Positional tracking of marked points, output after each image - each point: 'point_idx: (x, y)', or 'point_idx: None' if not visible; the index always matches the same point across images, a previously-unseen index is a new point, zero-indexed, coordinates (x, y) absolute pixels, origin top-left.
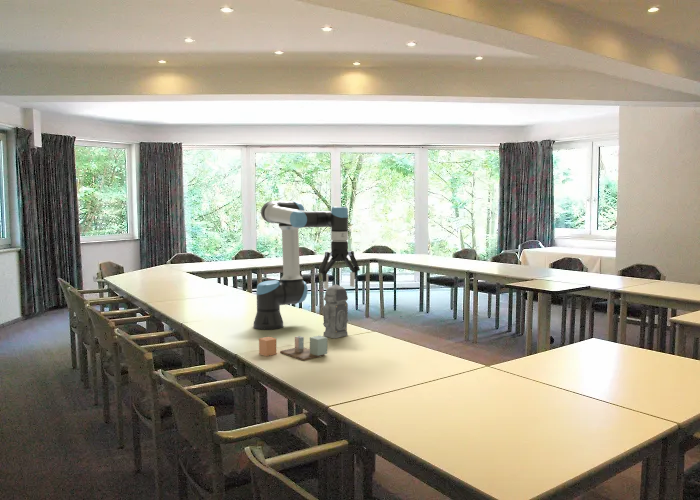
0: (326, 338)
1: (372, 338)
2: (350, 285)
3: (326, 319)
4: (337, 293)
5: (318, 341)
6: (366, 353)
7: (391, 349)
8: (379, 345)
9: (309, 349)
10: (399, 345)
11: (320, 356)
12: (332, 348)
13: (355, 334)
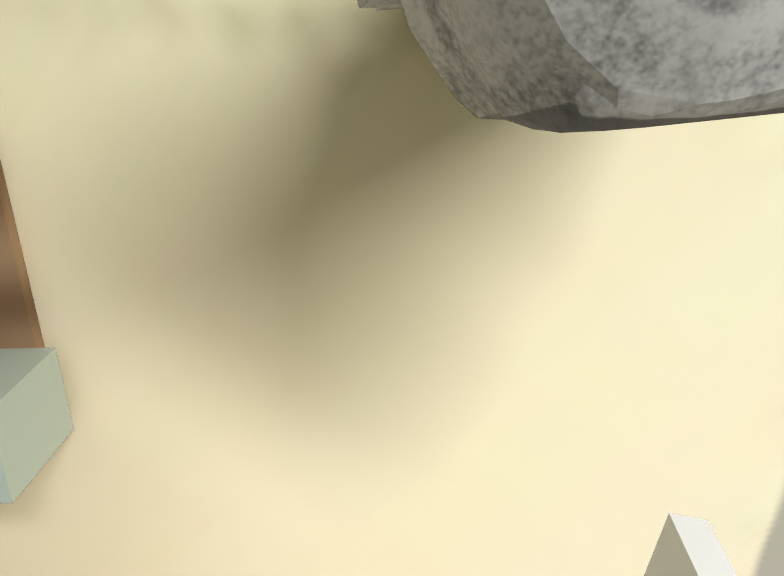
0: (6, 500)
1: (702, 277)
2: (667, 537)
3: None
4: (539, 129)
5: None
6: (334, 537)
7: (538, 571)
8: (560, 459)
9: (10, 263)
10: None
11: None
12: (217, 305)
13: None
